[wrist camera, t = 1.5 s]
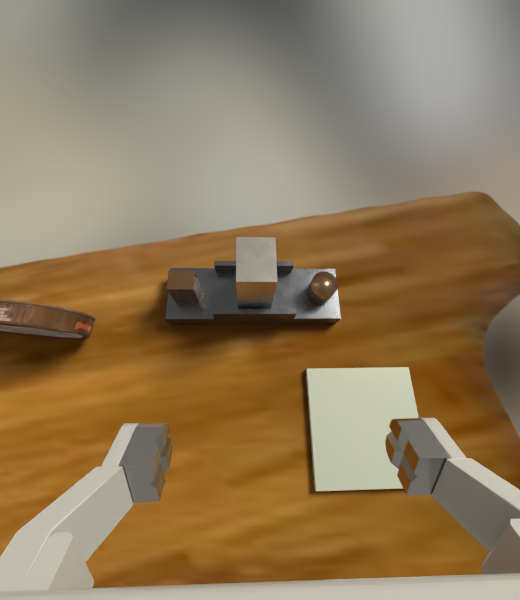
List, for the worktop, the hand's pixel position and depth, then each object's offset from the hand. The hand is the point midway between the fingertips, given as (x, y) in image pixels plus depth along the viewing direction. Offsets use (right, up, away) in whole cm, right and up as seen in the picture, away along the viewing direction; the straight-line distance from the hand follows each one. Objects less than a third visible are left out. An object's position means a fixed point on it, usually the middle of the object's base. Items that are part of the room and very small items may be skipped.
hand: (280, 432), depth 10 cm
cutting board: (+12, -10, +23) cm, 28 cm away
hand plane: (-2, +5, +28) cm, 29 cm away
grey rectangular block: (-1, +6, +26) cm, 27 cm away
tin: (-28, +1, +26) cm, 39 cm away
